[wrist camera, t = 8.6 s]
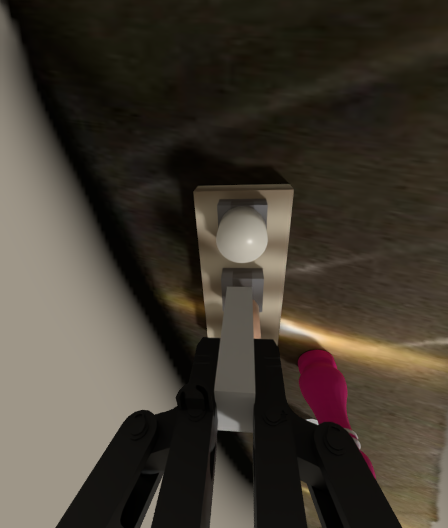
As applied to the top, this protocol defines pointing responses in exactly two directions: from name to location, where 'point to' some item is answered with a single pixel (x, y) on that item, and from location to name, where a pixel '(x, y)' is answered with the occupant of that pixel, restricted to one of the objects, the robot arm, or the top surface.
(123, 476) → the robot arm
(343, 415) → the pepper mill
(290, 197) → the knob board
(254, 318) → the middle pink knob
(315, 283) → the top surface
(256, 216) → the knob
